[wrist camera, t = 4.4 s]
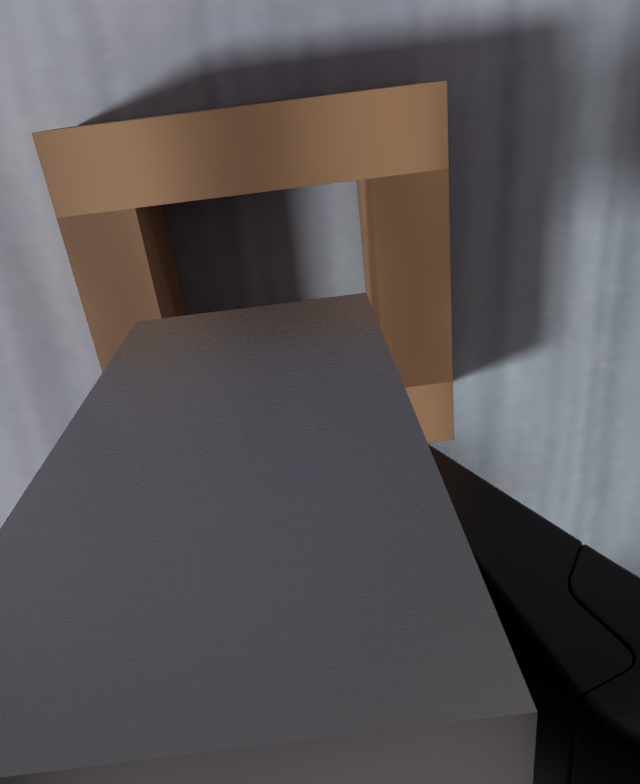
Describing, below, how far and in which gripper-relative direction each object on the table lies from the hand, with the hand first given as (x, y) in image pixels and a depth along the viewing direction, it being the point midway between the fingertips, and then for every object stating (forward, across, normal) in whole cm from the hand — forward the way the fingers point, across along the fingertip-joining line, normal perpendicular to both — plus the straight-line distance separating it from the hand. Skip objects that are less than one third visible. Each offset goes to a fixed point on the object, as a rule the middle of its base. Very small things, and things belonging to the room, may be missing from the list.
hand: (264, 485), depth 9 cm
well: (+12, 0, 0) cm, 12 cm away
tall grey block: (+2, 0, 0) cm, 2 cm away
